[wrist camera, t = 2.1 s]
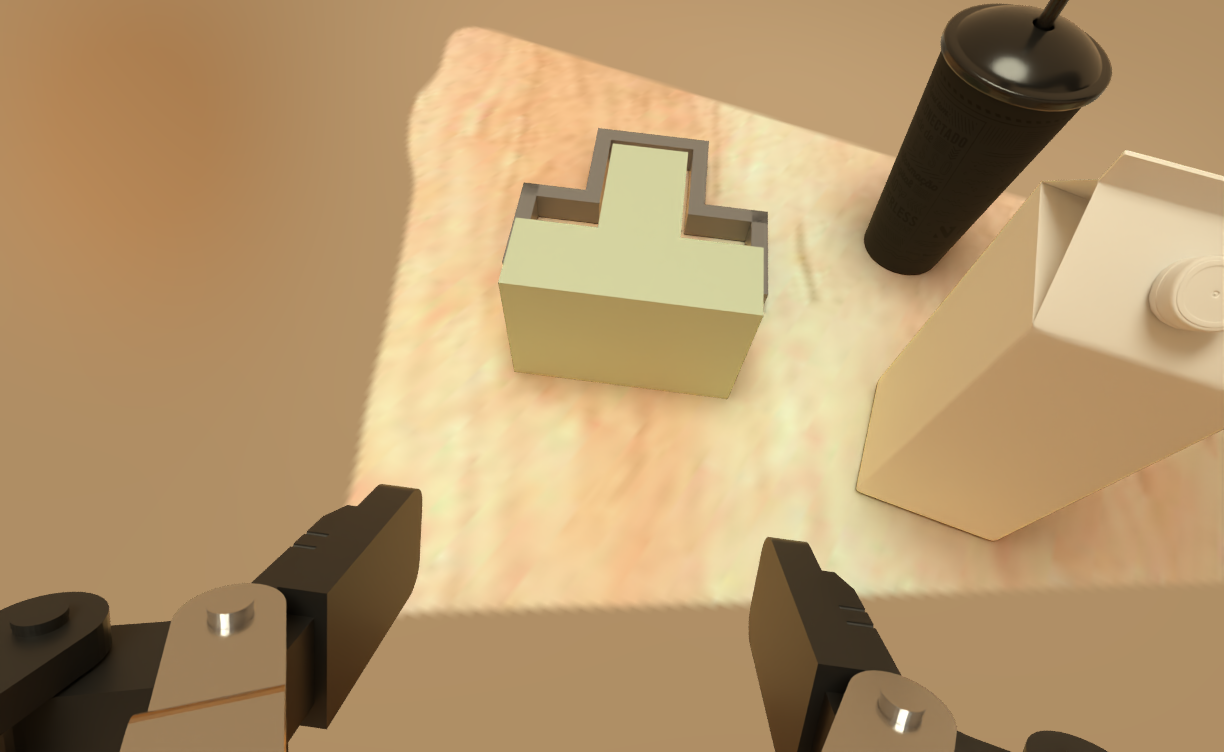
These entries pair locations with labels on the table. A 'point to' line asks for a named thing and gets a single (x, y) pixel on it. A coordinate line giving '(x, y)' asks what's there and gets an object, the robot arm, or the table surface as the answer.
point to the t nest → (698, 215)
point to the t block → (632, 289)
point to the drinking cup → (981, 124)
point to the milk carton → (1061, 354)
